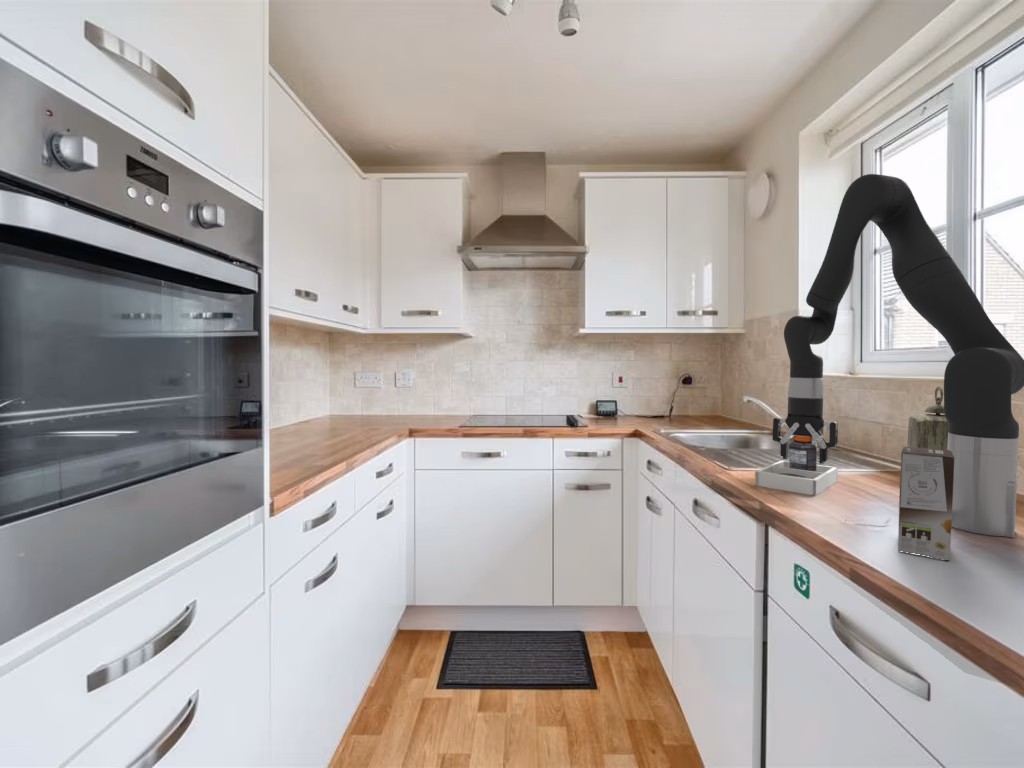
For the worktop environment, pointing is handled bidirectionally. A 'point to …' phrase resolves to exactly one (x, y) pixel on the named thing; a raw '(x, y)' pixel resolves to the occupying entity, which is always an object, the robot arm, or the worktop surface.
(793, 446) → the pill bottle
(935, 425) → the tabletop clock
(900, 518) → the coffee box
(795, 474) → the cord coil
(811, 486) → the tray
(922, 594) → the worktop surface
